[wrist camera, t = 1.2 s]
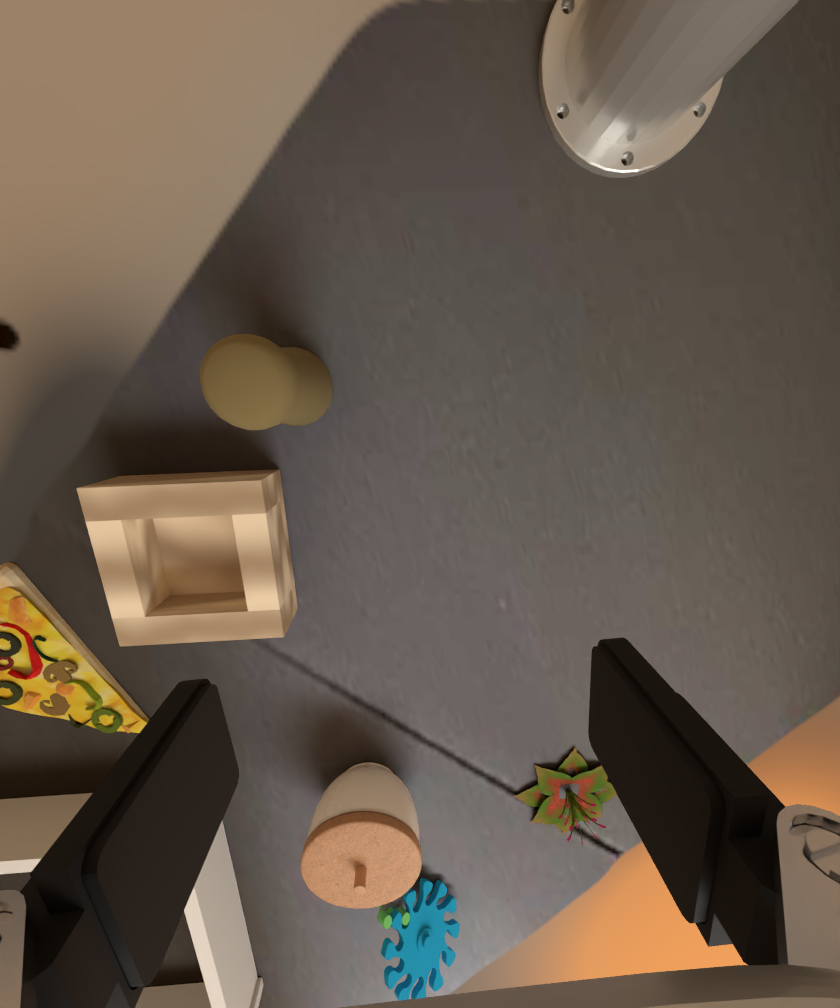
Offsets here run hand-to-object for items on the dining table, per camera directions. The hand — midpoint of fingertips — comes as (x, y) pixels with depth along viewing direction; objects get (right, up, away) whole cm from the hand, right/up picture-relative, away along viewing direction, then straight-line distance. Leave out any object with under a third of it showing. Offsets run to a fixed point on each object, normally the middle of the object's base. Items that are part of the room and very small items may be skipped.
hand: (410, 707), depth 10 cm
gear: (+2, -40, +38) cm, 55 cm away
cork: (-10, +14, +22) cm, 28 cm away
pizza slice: (-34, -11, +28) cm, 45 cm away
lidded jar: (-5, -25, +33) cm, 41 cm away
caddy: (-18, +1, +25) cm, 30 cm away
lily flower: (+17, -27, +35) cm, 47 cm away
